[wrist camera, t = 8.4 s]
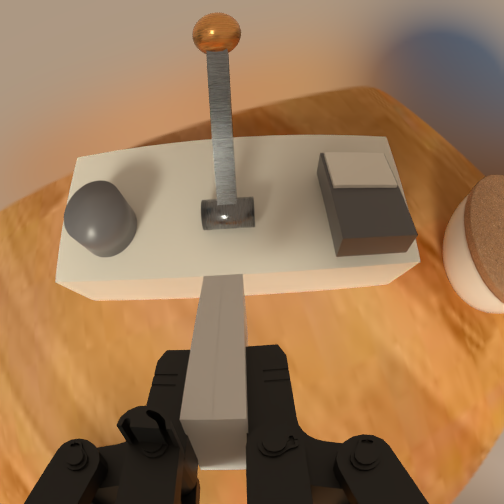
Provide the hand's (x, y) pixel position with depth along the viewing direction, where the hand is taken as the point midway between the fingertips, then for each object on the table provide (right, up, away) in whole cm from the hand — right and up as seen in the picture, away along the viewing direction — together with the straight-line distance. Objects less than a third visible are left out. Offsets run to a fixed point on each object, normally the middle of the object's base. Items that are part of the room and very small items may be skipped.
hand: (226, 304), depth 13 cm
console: (0, +4, +13) cm, 14 cm away
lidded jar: (+21, +1, +12) cm, 24 cm away
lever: (0, +4, +6) cm, 8 cm away
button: (-8, +4, +7) cm, 11 cm away
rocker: (+8, +5, +5) cm, 11 cm away
